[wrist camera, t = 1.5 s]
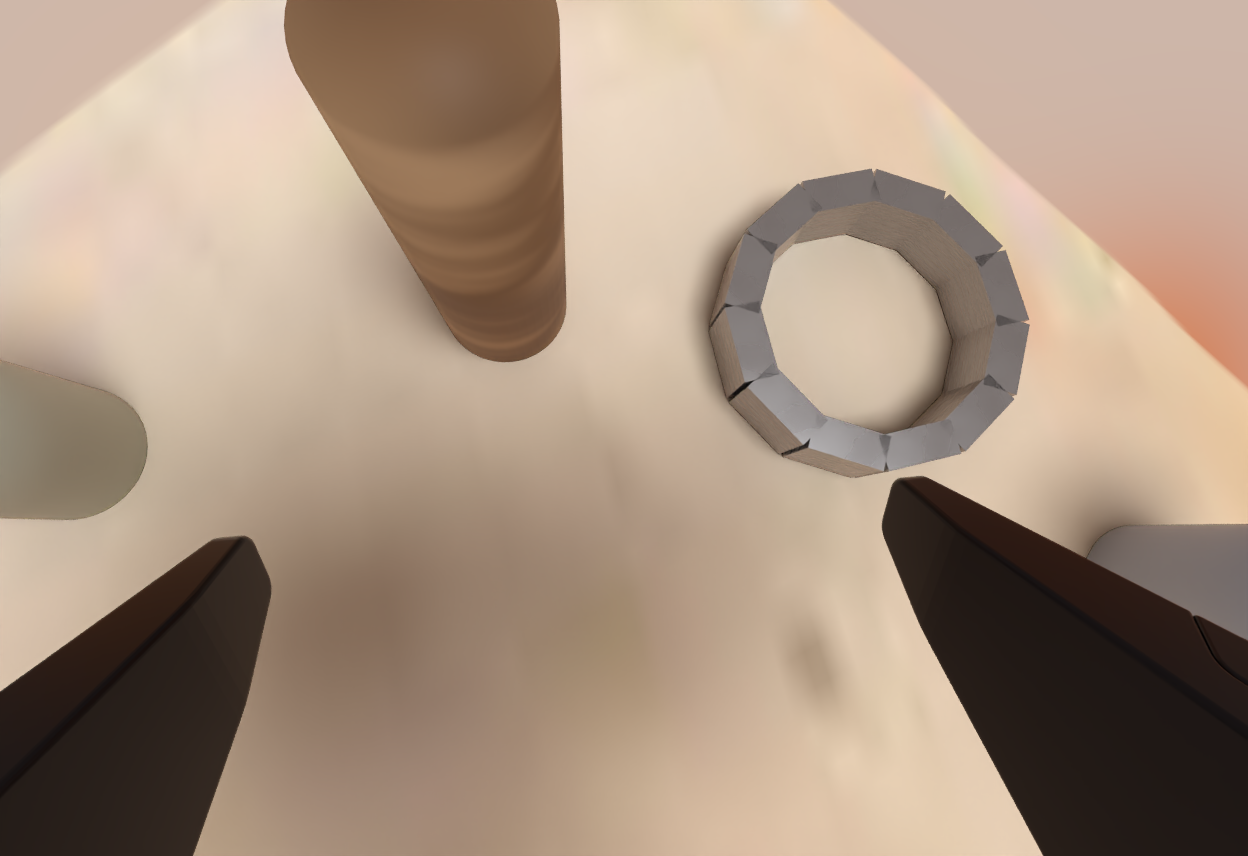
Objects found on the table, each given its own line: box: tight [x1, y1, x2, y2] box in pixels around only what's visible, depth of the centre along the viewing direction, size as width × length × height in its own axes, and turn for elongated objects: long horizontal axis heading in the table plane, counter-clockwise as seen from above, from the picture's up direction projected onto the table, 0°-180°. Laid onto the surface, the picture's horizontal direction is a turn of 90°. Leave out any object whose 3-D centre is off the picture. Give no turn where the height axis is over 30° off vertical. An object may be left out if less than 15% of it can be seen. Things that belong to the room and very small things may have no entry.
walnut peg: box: [284, 0, 566, 362], centre depth 17 cm, size 4×4×13 cm
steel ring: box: [709, 169, 1029, 478], centre depth 23 cm, size 10×10×2 cm
